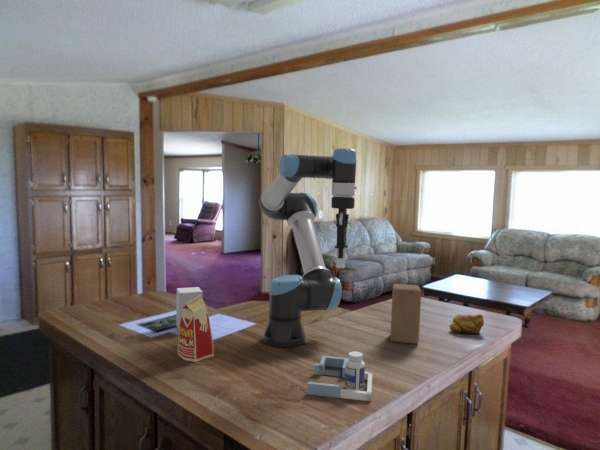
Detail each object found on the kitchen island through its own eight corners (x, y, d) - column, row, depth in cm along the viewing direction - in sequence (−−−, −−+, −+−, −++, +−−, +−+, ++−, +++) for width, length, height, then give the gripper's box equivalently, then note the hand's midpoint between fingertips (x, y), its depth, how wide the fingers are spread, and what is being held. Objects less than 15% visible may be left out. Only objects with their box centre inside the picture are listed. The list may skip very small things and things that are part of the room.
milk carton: (197, 348, 153) (197, 290, 151) (215, 355, 147) (215, 295, 146) (174, 356, 146) (174, 295, 144) (192, 363, 140) (192, 300, 139)
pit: (322, 375, 134) (322, 374, 134) (325, 366, 141) (325, 365, 141) (342, 377, 133) (342, 376, 133) (344, 368, 140) (344, 367, 140)
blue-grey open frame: (307, 394, 122) (307, 383, 122) (318, 364, 142) (318, 355, 142) (342, 398, 120) (342, 387, 120) (348, 367, 141) (348, 358, 141)
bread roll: (452, 335, 176) (454, 315, 175) (444, 327, 185) (445, 308, 185) (485, 336, 176) (487, 316, 175) (475, 328, 186) (477, 309, 185)
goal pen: (340, 397, 120) (340, 390, 120) (344, 376, 134) (345, 369, 134) (370, 401, 119) (371, 393, 119) (372, 378, 133) (372, 372, 133)
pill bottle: (360, 382, 130) (361, 349, 129) (366, 391, 125) (368, 356, 124) (342, 384, 129) (343, 350, 128) (348, 392, 124) (349, 357, 123)
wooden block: (418, 345, 163) (421, 290, 162) (390, 342, 165) (392, 288, 164) (417, 336, 173) (419, 284, 171) (390, 333, 175) (392, 283, 173)
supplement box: (202, 330, 173) (203, 291, 172) (178, 332, 170) (179, 292, 169) (198, 323, 182) (199, 286, 180) (176, 325, 178) (176, 287, 177)
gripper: (353, 197, 141) (350, 271, 143) (355, 196, 154) (353, 264, 156) (329, 196, 142) (326, 270, 144) (333, 195, 155) (331, 263, 157)
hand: (340, 267), depth 150 cm, fingers closed
